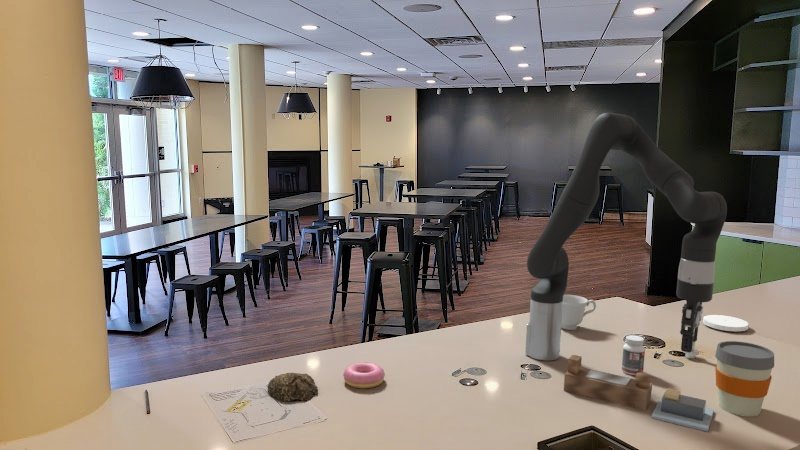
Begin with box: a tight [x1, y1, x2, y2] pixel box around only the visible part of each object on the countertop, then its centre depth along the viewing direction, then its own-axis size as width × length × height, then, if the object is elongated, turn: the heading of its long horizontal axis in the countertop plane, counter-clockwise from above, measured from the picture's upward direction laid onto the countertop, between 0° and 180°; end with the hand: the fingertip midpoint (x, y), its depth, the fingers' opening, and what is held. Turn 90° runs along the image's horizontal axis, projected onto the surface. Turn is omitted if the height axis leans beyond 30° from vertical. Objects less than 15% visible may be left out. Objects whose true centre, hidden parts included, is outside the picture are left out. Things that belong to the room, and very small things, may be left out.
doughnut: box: [342, 362, 386, 389], centre depth 163 cm, size 11×11×4 cm
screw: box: [682, 342, 701, 360], centre depth 184 cm, size 13×5×5 cm
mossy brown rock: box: [267, 372, 319, 403], centre depth 156 cm, size 13×12×5 cm
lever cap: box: [661, 388, 707, 421], centre depth 147 cm, size 9×5×4 cm, turn 58°
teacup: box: [561, 294, 597, 331], centre depth 211 cm, size 12×15×10 cm
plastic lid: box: [702, 314, 749, 333], centre depth 216 cm, size 14×14×2 cm
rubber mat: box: [650, 397, 715, 432], centre depth 147 cm, size 12×12×1 cm
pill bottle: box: [621, 335, 646, 376], centre depth 172 cm, size 6×6×10 cm
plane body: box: [563, 354, 653, 411], centre depth 157 cm, size 20×7×8 cm, turn 58°
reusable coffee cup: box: [714, 340, 775, 417], centre depth 150 cm, size 13×13×15 cm
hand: (688, 346), depth 145 cm, fingers open, 8 cm apart
